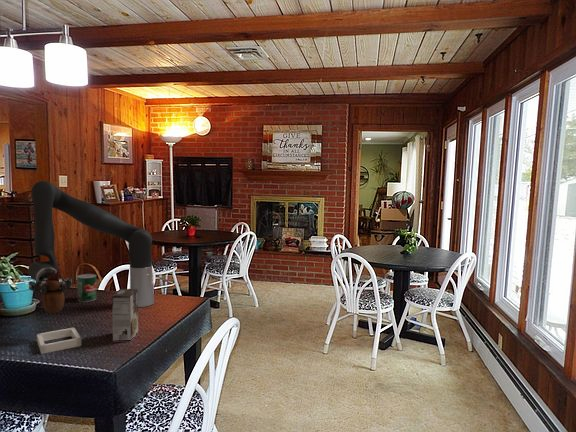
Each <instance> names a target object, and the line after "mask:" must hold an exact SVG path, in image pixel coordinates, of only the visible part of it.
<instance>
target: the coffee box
mask: <svg viewBox="0 0 576 432" xmlns="http://www.w3.org/2000/svg"><path fill="white" fill-rule="evenodd" d="M137 290H138V289H130V288H119V290H117V291H116V292H115V293H114V294H113V295H112V296H111V303H112V305H111V307H112V308H111V309H112V342H115V341H114V340H131V339H132V338H133V337H134V338H135V337H136V335H137V334H138V333H139V307H138V291H137ZM136 333H137V334H136ZM134 338H133V339H134ZM133 339H132V340H133ZM132 340H131V341H132Z"/></svg>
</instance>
